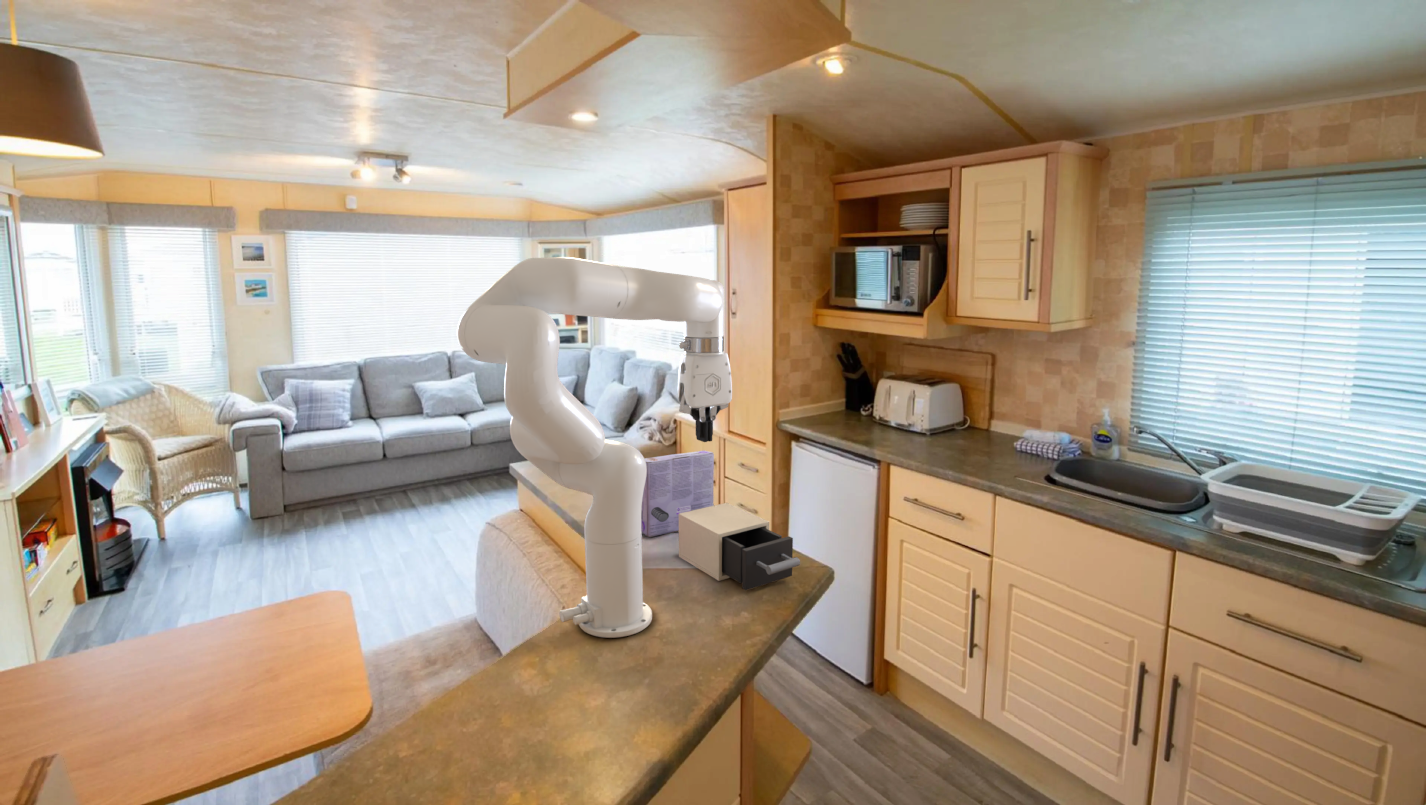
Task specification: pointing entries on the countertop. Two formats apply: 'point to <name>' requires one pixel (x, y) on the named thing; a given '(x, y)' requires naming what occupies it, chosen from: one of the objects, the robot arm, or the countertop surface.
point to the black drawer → (757, 557)
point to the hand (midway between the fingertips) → (704, 440)
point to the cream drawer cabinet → (712, 534)
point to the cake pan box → (675, 489)
